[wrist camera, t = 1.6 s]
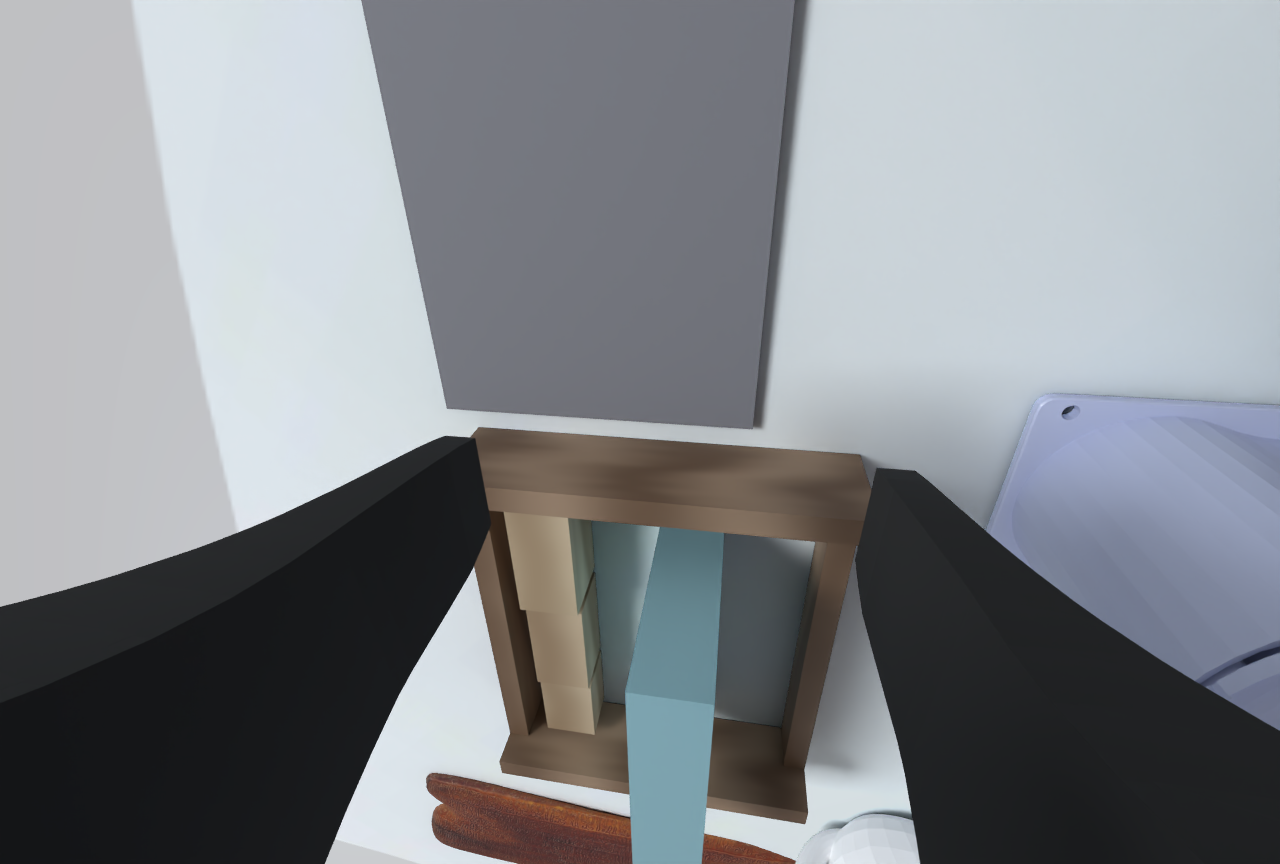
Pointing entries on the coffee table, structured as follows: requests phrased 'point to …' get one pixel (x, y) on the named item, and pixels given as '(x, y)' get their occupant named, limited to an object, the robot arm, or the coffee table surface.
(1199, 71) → the coffee table surface
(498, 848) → the wooden tablet
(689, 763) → the teal rectangular block
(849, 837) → the cat figurine
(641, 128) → the mat
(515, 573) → the offcuts
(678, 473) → the rack
